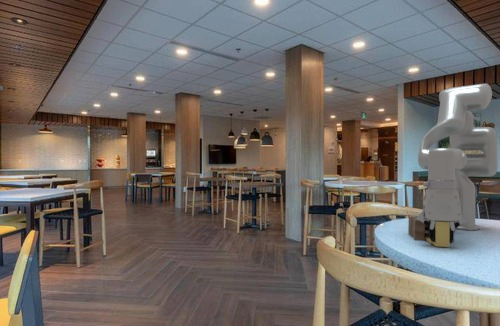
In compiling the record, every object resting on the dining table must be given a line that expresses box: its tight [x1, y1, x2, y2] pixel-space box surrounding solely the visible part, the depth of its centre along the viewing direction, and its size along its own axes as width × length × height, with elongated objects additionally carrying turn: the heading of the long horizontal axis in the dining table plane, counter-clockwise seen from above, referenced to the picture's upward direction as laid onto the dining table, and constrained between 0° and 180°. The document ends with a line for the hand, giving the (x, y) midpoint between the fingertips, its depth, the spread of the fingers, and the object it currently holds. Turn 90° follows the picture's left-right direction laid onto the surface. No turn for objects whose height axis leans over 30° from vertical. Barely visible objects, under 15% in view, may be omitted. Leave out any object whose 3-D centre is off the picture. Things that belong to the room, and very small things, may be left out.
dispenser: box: [408, 215, 455, 243], centre depth 112 cm, size 11×12×7 cm
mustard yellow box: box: [425, 221, 450, 248], centre depth 107 cm, size 17×5×8 cm, turn 165°
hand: (440, 240), depth 100 cm, fingers closed on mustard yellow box, 4 cm apart
